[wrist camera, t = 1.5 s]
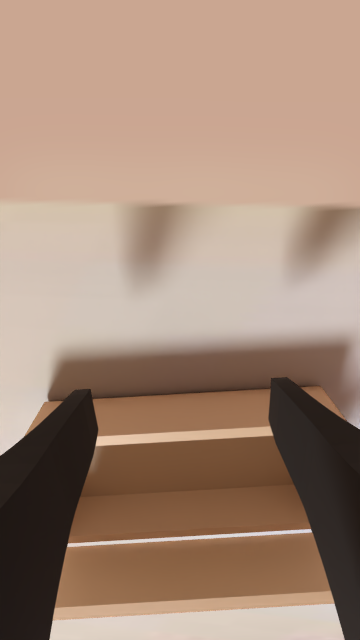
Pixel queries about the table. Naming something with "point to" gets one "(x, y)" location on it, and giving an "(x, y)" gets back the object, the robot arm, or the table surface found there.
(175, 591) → the lid flap
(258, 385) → the table surface
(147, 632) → the table surface
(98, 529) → the carton
